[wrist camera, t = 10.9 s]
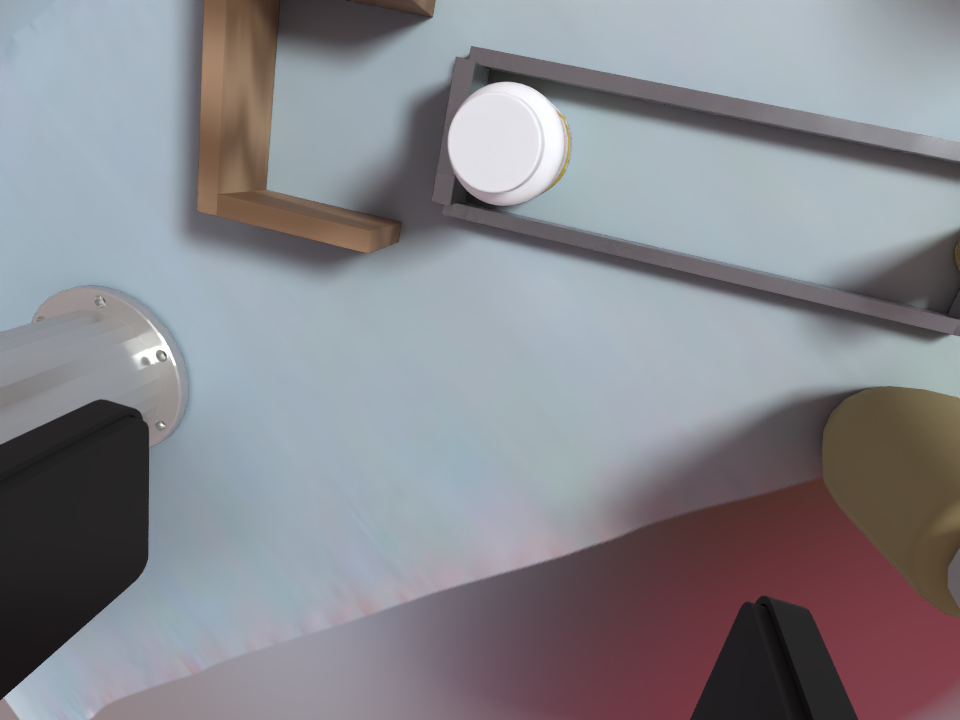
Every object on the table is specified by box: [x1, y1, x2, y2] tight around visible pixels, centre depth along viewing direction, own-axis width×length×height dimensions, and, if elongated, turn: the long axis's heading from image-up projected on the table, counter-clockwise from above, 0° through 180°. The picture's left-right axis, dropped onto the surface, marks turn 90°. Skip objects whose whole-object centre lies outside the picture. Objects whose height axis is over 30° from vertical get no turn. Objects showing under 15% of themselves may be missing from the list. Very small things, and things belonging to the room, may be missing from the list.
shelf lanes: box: [197, 0, 435, 253], centre depth 32 cm, size 21×10×5 cm, turn 169°
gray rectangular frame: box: [432, 46, 960, 336], centre depth 29 cm, size 9×30×7 cm, turn 79°
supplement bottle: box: [447, 82, 572, 206], centre depth 29 cm, size 5×5×10 cm
